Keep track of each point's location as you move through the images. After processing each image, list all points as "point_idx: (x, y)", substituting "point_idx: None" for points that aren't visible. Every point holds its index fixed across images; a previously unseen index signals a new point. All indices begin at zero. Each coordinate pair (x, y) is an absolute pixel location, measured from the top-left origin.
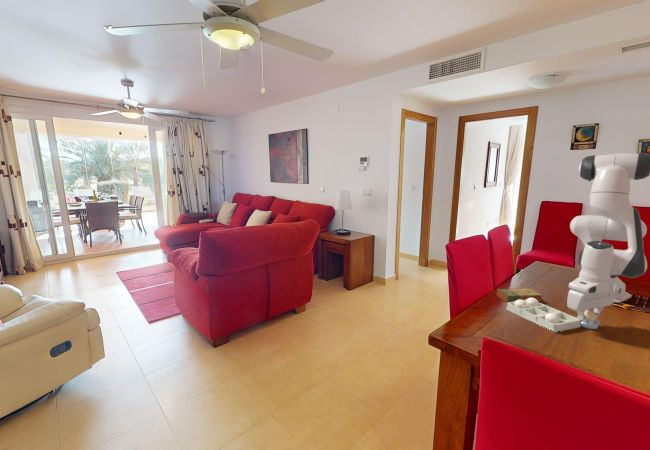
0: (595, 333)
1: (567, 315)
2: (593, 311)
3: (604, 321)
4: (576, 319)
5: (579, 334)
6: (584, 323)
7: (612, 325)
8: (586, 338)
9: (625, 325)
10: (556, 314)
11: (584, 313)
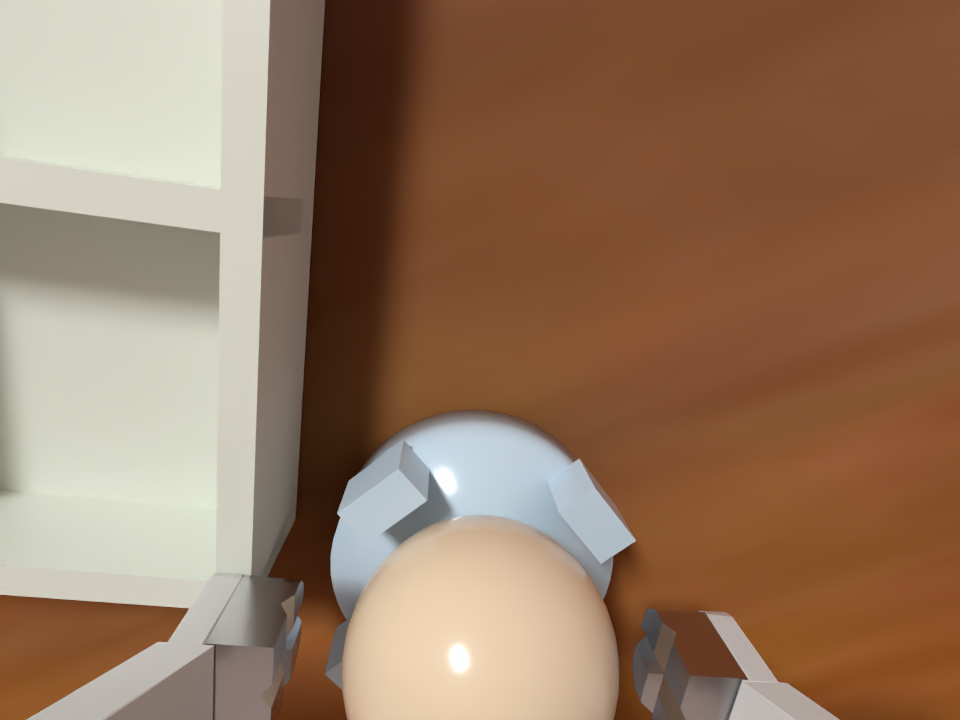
0: (292, 684)
1: (228, 359)
2: (729, 685)
3: (854, 559)
4: (223, 533)
5: (24, 625)
6: (336, 581)
7: (789, 653)
8: (7, 709)
9: (929, 707)
10: (20, 200)
11: (354, 692)
